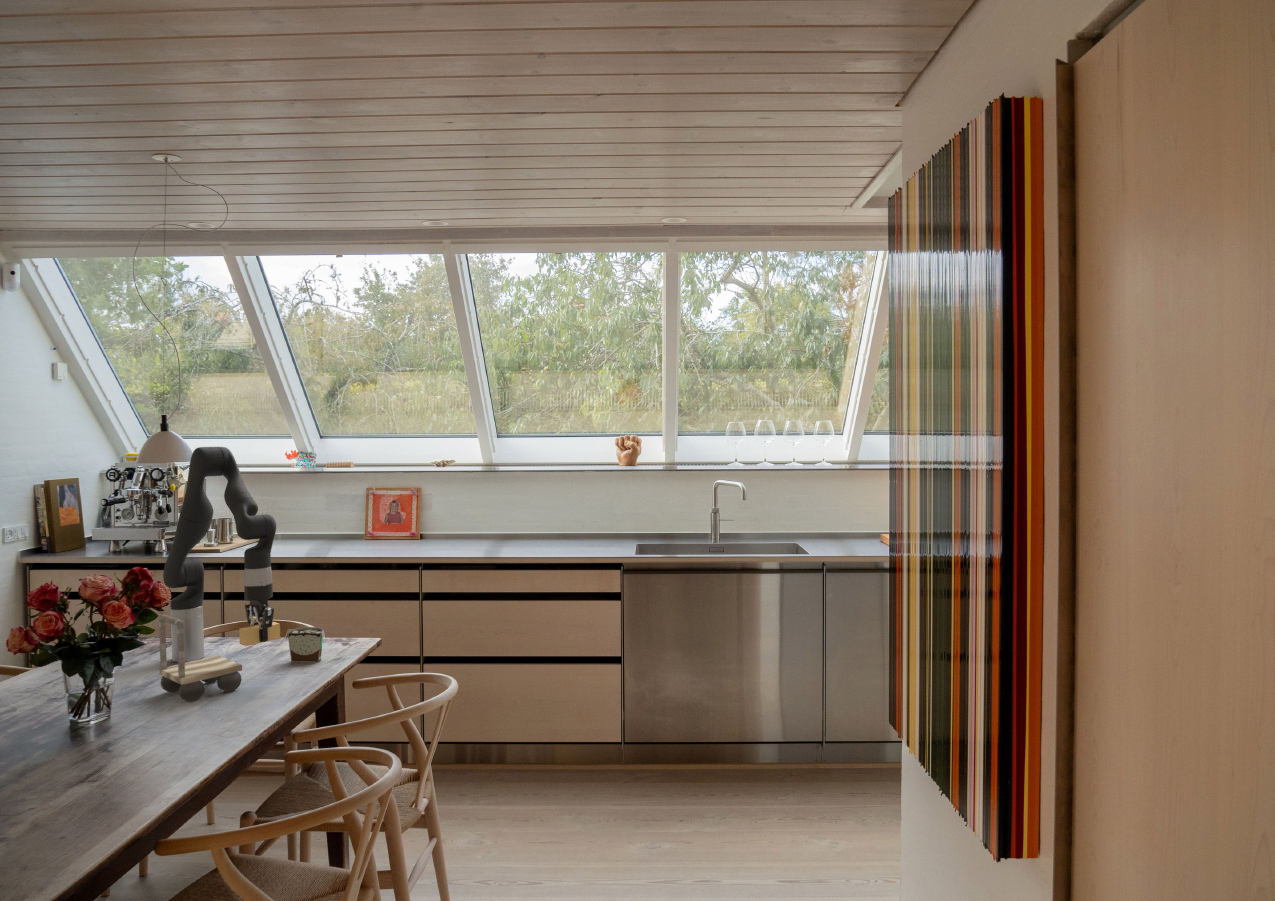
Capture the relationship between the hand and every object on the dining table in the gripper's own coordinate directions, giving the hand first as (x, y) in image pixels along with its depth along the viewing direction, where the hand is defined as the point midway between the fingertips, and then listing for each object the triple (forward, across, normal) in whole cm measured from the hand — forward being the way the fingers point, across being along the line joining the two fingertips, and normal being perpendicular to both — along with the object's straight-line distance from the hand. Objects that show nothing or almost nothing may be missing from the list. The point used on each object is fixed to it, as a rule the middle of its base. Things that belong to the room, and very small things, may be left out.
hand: (260, 640), depth 229 cm
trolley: (+13, -7, -14) cm, 20 cm away
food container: (+13, -12, +21) cm, 27 cm away
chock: (0, 0, 0) cm, 0 cm away
